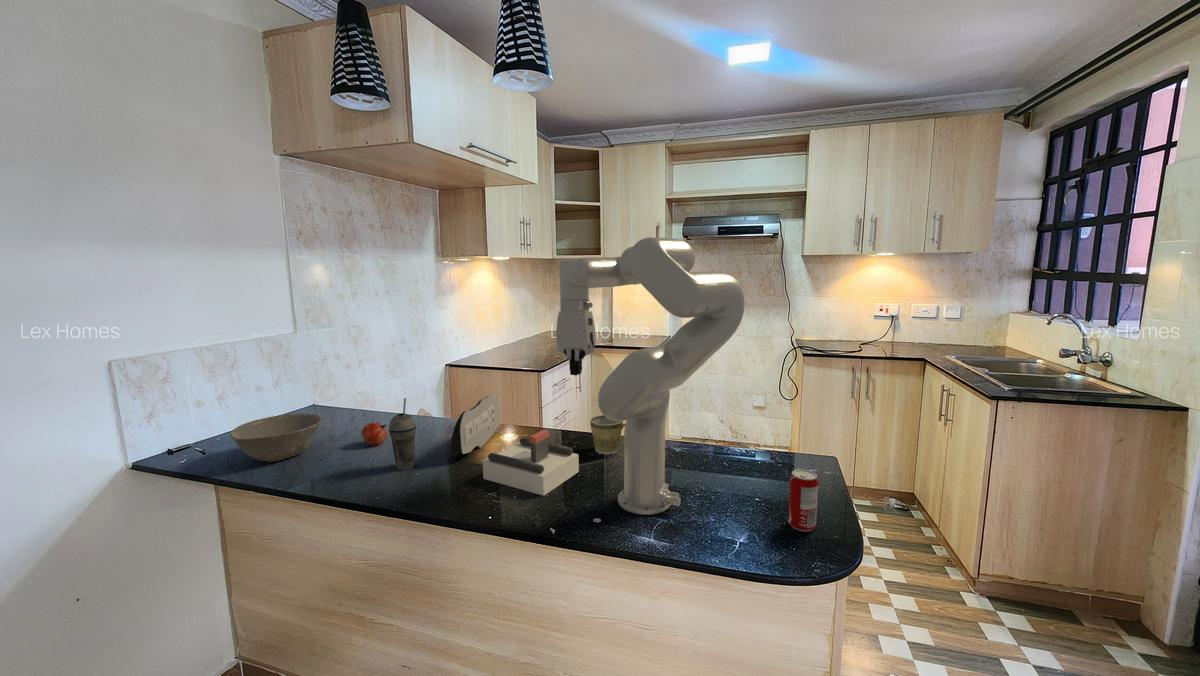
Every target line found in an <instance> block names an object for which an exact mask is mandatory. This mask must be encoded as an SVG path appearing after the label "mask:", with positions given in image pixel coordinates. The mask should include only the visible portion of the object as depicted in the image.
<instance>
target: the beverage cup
mask: <svg viewBox="0 0 1200 676" xmlns="http://www.w3.org/2000/svg"><path fill="white" fill-rule="evenodd" d="M406 401H407V398H406V397H404V398H403V409H402V411H403V412H402V413H397V414H396V415H394V416H393V417H392V418H391V419H390V422H389V426H388V433H389V436H390V438H391V445H392V451H393V456H394V461H395V465H396V469H397V470H399V471H407V470H411V469H412V468H414V466H415V449H416V448H415V443H416V442H415V439H416V438H415V437H416V431H417V424H416V421H415V418H414V417H412V416H411V415H410V414H408V413H406V406H407V405H406V404H407V402H406Z"/></svg>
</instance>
